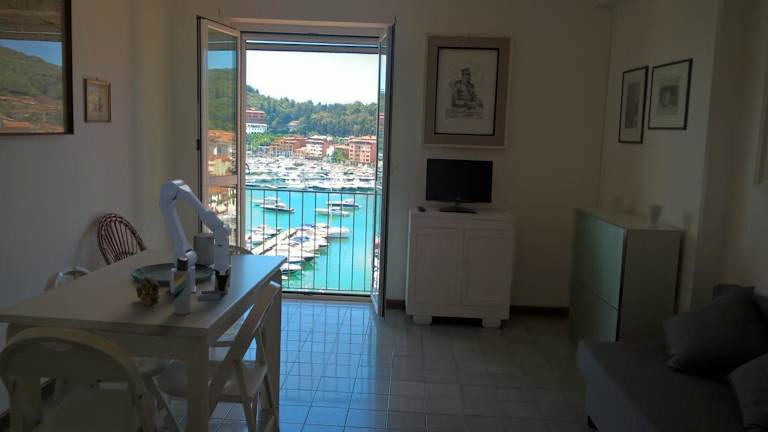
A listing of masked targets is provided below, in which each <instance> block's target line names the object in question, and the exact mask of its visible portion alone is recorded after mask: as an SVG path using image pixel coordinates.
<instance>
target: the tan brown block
mask: <svg viewBox="0 0 768 432" xmlns="http://www.w3.org/2000/svg"><path fill="white" fill-rule="evenodd" d="M213 286H214V290H219V289H218V282H217V279H216V277H214V285H213ZM228 293H229V285H228V279H227V282H226V287H225V291H220V295H222V294H223V295H224V294H225V295H226V294H228Z"/></svg>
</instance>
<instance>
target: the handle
mask: <svg viewBox="0 0 768 432" xmlns="http://www.w3.org/2000/svg"><path fill="white" fill-rule="evenodd" d="M234 253H235V249H234V248H230V247H229V265H232V264H231V263H232V262H231V261H232V260H231V256H232V255H233V254H234ZM227 274H230V275H229V277H228V286H229V285H231V276H232V268H229V269H228V271H227Z"/></svg>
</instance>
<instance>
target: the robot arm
mask: <svg viewBox="0 0 768 432" xmlns="http://www.w3.org/2000/svg"><path fill="white" fill-rule="evenodd" d="M158 200H159V201H158V207H159V210H160V212H161V214H162V218H163V220H164V223H165V226H166V229H167V232H168V234H169V238H170V240H171V242H172V245H173V252H172V255H173V265H174V267H175V268H170V282H169V288H170V293H171V294H174V271H175V270H177V259H178V257H187V258H188V270H190V271H191V293H196V292H197V286H196V266H195V265H196V264H194V263H196V261H197V254H196V252H195V251H194V250H193V247H192V245H191V243H189V242H188V240H187V237H186V234H185V231H184V229H183V226H182V223H181V221H180V218H179V215H178V212H177V209H176V207H175V204H176V202H177V201H178V200H182V201H185V202H186V203H187V204H188V205H189V206H190V207H191V208H192V209H193V210H195V212H196V213H197V214H198V215H199V219H200V221H201V222H202V223H203V224H204V225H205V226H206V228H207V229H208V230H209V231H210V232H211V233H212V235H213V238H214V263H213V271H214V276H215V277H216V279H217V282H218V289H219V291H225V287H226V282H227V279H228V277H229V275H230V274H227V271H228V269H229V268H231V269H232V268H233V265H232V264H231V265H229V248H230V236H231V234H232V228H231V227H230V225H229V224H227V223H225V221H224V220H222V219H221V218H220V217H219V216H218V215H217V212H216V211H215V210H212V209H209V208H208V209H207V208H206V206H205V205H204V204H203V203H202V201H200V199H199V198H198V197H197V196H196V195H195V193H194V192H193V191H192V190H191V188H190V186H189V185H188V184H187V183H185V181H184V180H182V179H174V180H168V181H166V182H165V181H164V183H163V184H162V186H161V187H160V188H159V199H158ZM215 277H214V278H215Z"/></svg>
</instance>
